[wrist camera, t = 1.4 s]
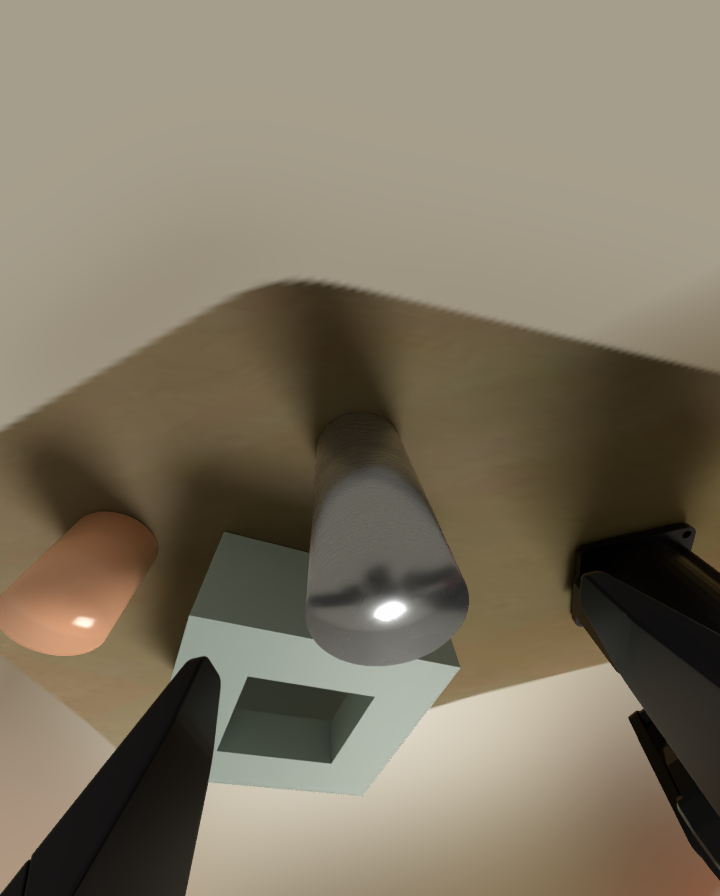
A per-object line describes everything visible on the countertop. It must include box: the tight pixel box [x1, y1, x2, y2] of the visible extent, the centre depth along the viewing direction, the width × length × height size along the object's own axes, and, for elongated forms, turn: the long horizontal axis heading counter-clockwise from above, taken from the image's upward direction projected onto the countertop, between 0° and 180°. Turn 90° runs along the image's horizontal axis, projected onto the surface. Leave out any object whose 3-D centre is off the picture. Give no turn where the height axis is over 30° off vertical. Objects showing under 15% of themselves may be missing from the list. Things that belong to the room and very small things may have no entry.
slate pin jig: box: [170, 532, 461, 796], centre depth 19 cm, size 12×12×5 cm
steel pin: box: [305, 412, 469, 666], centre depth 13 cm, size 4×4×9 cm
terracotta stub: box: [0, 511, 158, 656], centre depth 16 cm, size 4×4×4 cm
